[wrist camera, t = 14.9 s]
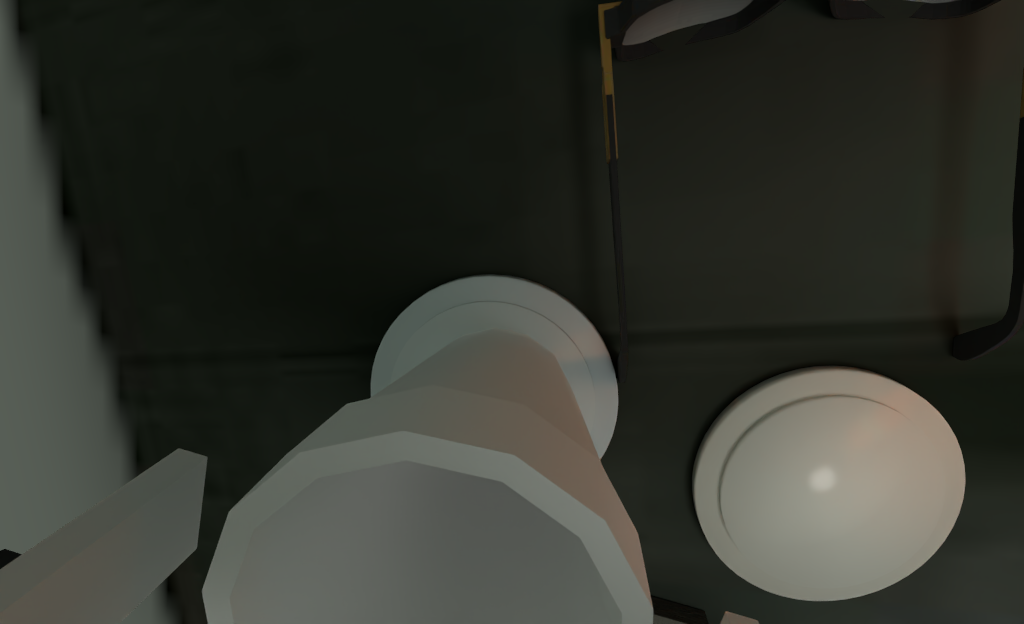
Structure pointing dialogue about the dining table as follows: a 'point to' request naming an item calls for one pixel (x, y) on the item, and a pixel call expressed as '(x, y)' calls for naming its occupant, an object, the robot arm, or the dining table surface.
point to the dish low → (514, 310)
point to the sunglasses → (728, 9)
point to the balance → (676, 613)
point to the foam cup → (439, 508)
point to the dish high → (827, 483)
